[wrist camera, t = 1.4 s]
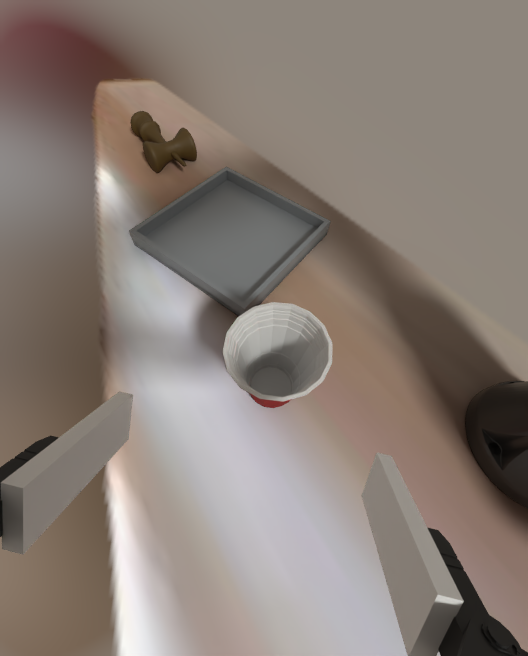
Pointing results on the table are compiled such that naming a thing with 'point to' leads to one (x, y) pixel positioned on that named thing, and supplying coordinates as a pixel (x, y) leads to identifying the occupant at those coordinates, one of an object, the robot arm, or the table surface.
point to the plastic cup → (277, 353)
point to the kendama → (162, 142)
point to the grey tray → (231, 238)
